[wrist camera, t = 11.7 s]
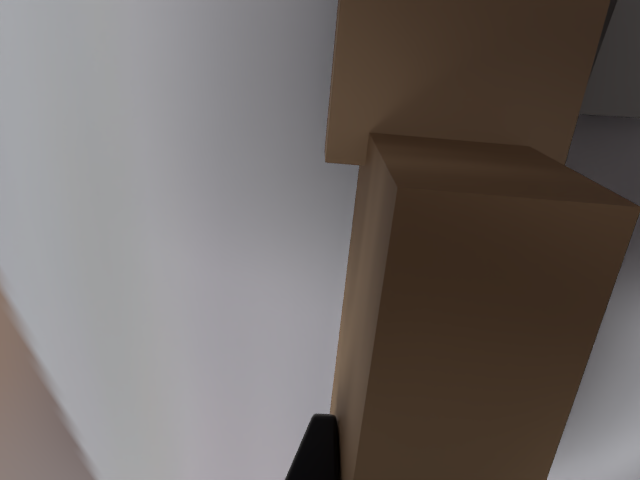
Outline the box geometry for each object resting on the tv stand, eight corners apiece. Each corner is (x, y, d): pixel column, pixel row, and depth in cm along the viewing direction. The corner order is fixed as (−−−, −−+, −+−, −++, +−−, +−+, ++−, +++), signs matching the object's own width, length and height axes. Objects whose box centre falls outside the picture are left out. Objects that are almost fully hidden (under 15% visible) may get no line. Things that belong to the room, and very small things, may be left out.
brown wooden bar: (412, 656, 14) (443, 859, 10) (279, 650, 13) (266, 853, 10) (635, -207, 7) (964, -451, 3) (360, -239, 6) (406, -528, 3)
